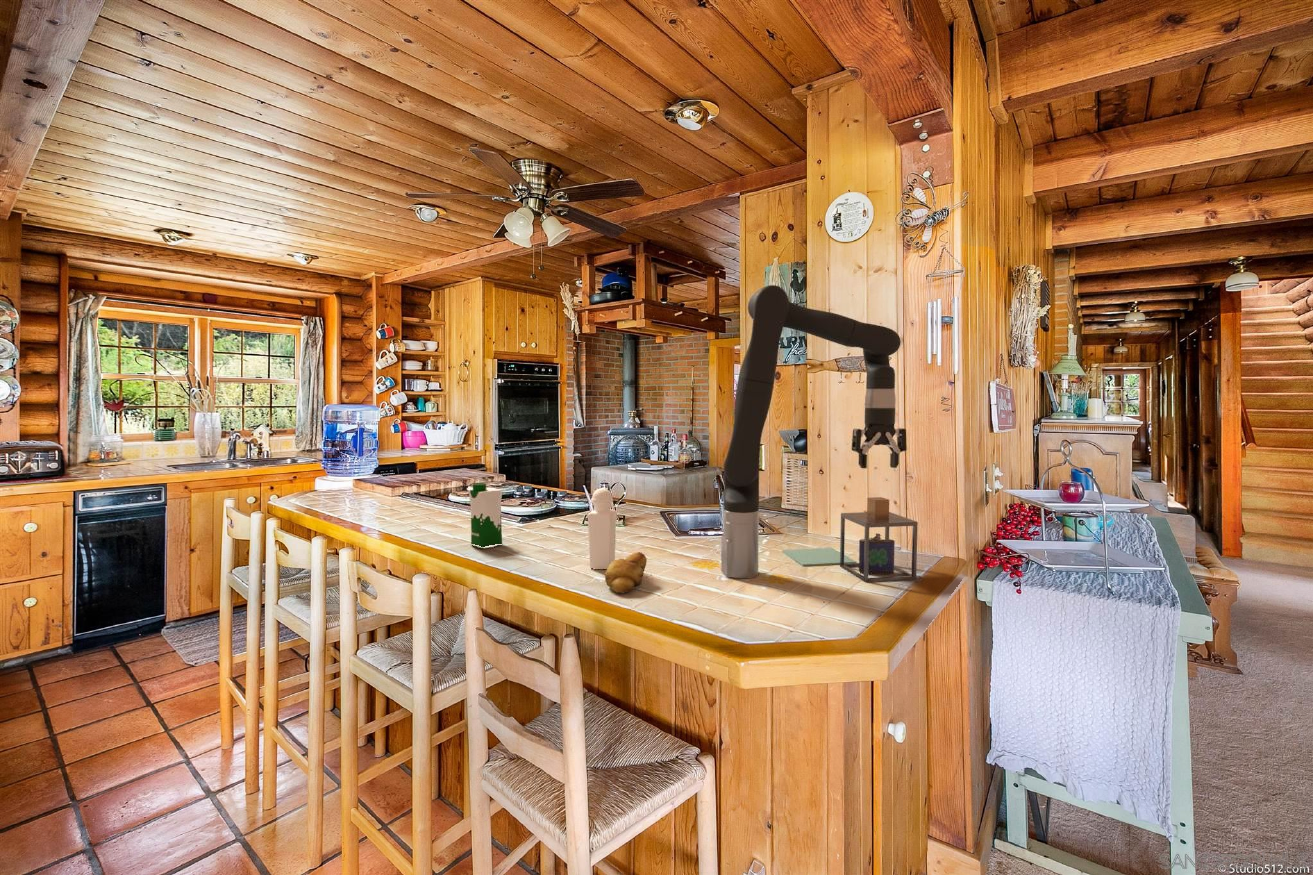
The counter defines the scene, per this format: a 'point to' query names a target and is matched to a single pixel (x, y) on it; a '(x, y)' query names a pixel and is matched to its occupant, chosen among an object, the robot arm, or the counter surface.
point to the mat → (817, 556)
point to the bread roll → (626, 572)
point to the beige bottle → (602, 530)
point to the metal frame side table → (883, 518)
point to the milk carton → (485, 515)
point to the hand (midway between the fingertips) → (878, 467)
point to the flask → (878, 556)
